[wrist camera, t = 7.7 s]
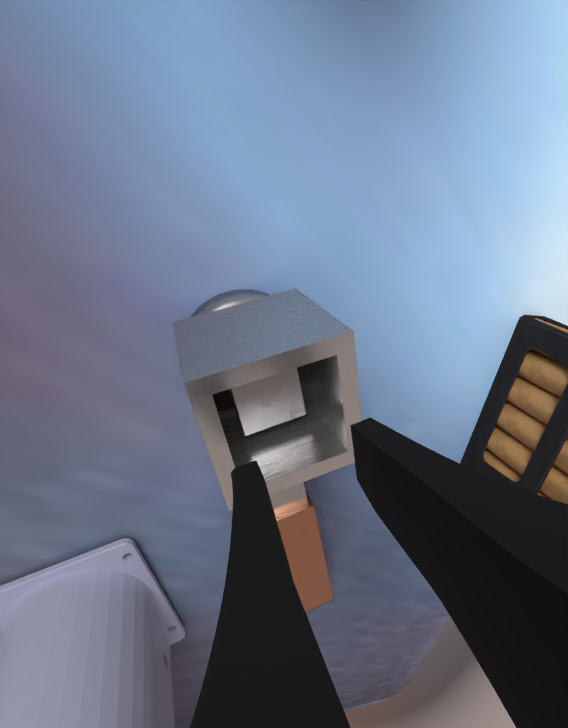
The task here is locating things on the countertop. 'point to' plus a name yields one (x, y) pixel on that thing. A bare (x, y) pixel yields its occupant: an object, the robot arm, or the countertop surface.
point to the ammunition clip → (527, 413)
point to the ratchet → (292, 505)
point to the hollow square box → (263, 359)
